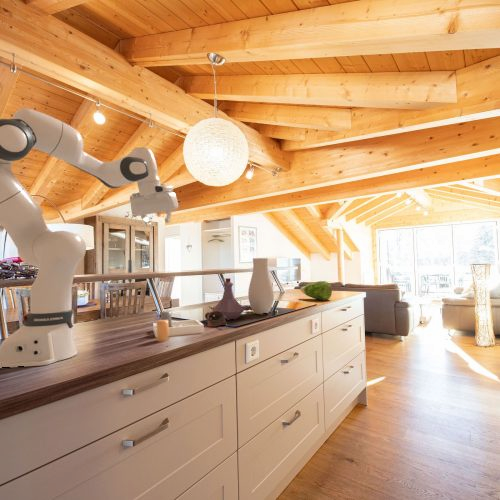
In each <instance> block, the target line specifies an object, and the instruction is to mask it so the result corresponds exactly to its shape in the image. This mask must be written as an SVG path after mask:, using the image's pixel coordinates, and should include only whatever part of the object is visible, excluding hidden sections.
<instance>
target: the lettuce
mask: <svg viewBox="0 0 500 500" xmlns="http://www.w3.org/2000/svg"><path fill="white" fill-rule="evenodd" d="M332 289H333V288H332V286H331V284H330V282H329V281H326V280H320V281H315V282H310V283H307V284H306V285H304V286H302V287H300V292H301V293H302V294H304V295H306V296H307V297H310V298H312V299H315V300H318V299H320V301H328V300H329V299H330V298H331V296H332V293H333V291H332Z"/></svg>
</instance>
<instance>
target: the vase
mask: <svg viewBox="0 0 500 500" xmlns="http://www.w3.org/2000/svg"><path fill="white" fill-rule="evenodd" d="M252 263H253V264H252V266H253V267H252V272H251V273H252V274H251V279H250V282H249V285H248V286H249V287H248V295H247V297H248V302H249V305H250V308H251V310H252V311H253V313H254V314H256V315H264V314H263V313H267V314H268V313H270V311H271V308H272V306H273V303H274V300H275V299H274V298H275V294H274V293H275V291H274V287H273V282H272V280H271V276H270V272H269V266H268V265H269V262H268V257H256V258H255V257H254V258H252Z"/></svg>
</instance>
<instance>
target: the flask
mask: <svg viewBox="0 0 500 500" xmlns="http://www.w3.org/2000/svg"><path fill="white" fill-rule="evenodd" d="M222 285H223V286H224V288H223V289H224V290H223V294H222V298H221V299H220V300H219V302H218V303H217V304H216V305H215V307H213V309H212V311H216V310H218V311H221V312H223V313H224V315H225V316H226V317H227V318H224V319H226V320H225V321H231V320H230V319H234V320H237V319H239V318H240V316H241V315H242V313H244V311H245V310H246V309H245V308H244V307H243V306H242V305H241V304H240V303H239V302H238V301H237V299H236V298H235V296H234V291H233V285H234V283H233V282H231V278H230V277H229V278H228V277H227V278H225V282H224V283H223V284H222ZM236 318H237V319H236Z"/></svg>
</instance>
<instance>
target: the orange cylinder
mask: <svg viewBox="0 0 500 500" xmlns="http://www.w3.org/2000/svg"><path fill="white" fill-rule="evenodd" d="M156 323H157V337H156V341H157V342H160V343H161V342H162V343H163V342H168V341H169V340H170V338H169V337H170V336H169V320H161V319H158V320H157V321H156Z"/></svg>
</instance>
